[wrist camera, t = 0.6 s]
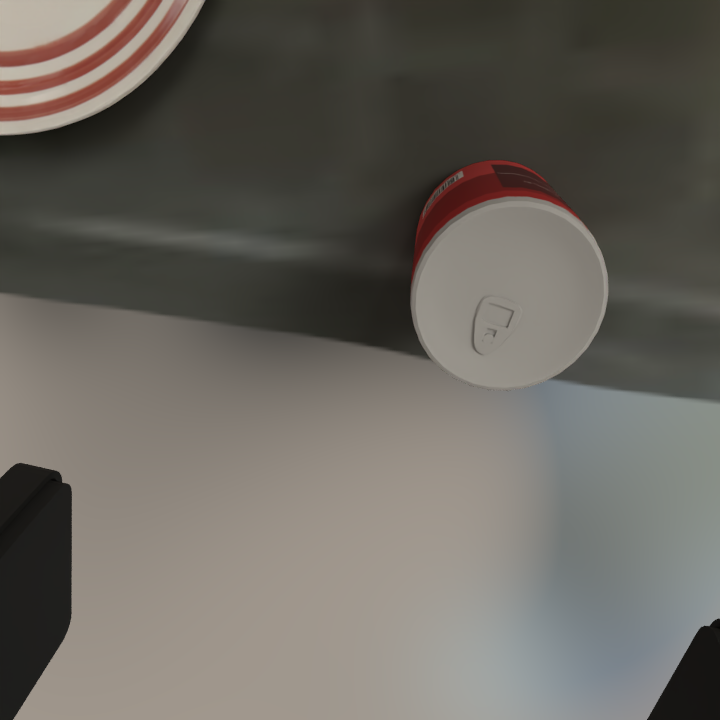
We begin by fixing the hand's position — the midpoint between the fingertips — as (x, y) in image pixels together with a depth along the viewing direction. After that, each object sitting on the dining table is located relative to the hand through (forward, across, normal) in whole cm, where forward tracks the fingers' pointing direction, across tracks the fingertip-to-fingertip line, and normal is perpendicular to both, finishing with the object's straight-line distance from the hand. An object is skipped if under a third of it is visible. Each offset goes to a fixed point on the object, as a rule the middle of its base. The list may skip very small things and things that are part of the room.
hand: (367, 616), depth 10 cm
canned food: (+29, -4, +1) cm, 29 cm away
